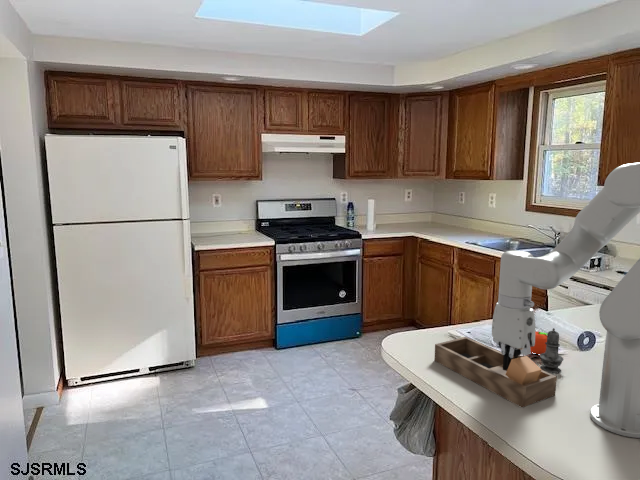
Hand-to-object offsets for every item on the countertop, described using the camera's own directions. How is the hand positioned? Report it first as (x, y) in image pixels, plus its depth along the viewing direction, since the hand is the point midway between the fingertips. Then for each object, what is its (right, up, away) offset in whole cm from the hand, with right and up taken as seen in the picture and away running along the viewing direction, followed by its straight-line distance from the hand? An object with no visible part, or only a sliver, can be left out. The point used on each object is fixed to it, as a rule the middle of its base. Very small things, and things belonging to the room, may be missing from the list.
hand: (509, 369), depth 121 cm
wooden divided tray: (-3, -3, +6) cm, 8 cm away
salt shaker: (+15, -3, +10) cm, 19 cm away
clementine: (+17, -1, +20) cm, 26 cm away
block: (+1, -2, -3) cm, 4 cm away
